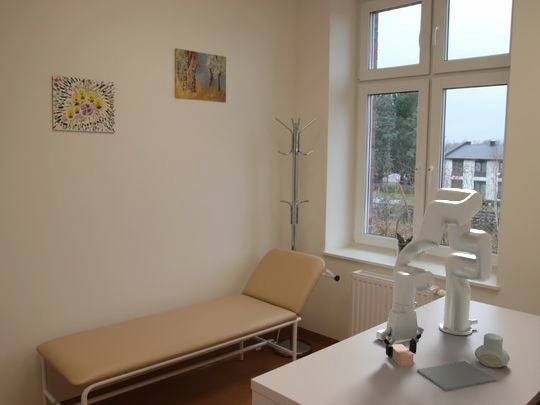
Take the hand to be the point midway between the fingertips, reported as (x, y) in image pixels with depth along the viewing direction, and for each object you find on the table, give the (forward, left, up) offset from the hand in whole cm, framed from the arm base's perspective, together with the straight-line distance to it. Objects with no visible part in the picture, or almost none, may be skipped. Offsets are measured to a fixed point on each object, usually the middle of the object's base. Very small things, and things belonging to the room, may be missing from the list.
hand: (400, 354), depth 174 cm
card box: (0, 0, -2) cm, 2 cm away
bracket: (-9, -16, -3) cm, 19 cm away
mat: (-10, +16, -2) cm, 19 cm away
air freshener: (-28, +13, -2) cm, 31 cm away
